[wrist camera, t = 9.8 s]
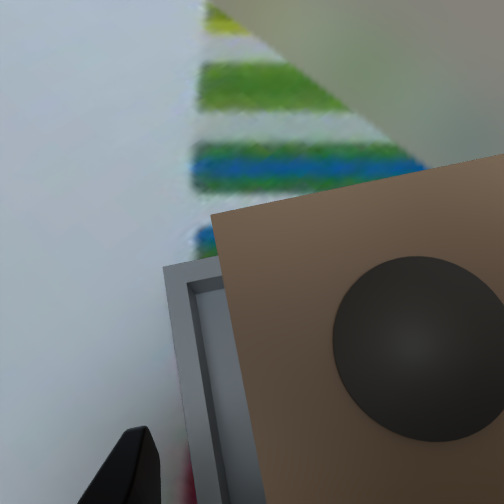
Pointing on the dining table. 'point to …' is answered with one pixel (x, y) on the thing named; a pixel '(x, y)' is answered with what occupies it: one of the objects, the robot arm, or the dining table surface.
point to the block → (374, 337)
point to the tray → (212, 386)
